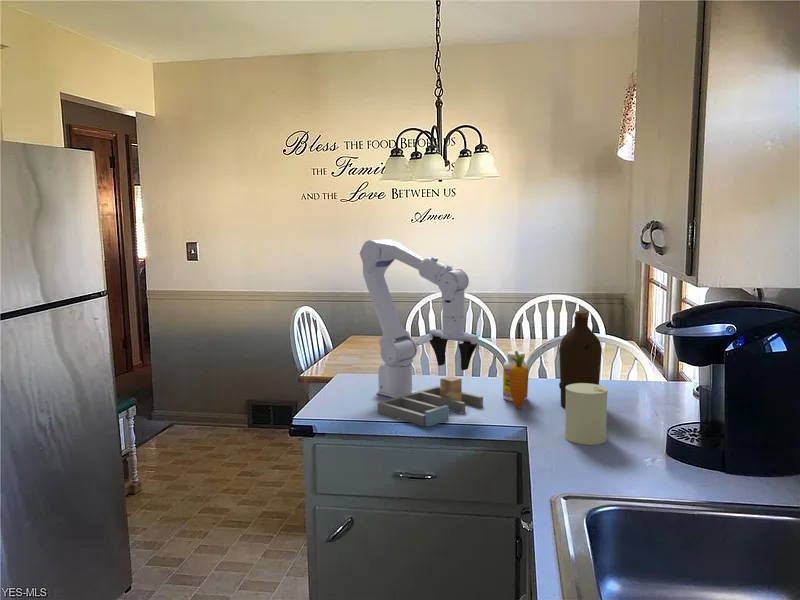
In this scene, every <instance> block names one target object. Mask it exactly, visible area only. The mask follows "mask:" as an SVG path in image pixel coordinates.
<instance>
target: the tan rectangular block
mask: <svg viewBox="0 0 800 600" xmlns="http://www.w3.org/2000/svg"><path fill="white" fill-rule="evenodd" d="M462 380H463V379H462V378H461V377H459V376H458V377H456V376H452V375H449V376H445V377H440V379H439V382H440V383H439V386H440V396H442V397H446V398H449V399H453V400H457V401H461V402H462V392H463V390H462V389H463V388H462Z"/></svg>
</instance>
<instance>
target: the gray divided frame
mask: <svg viewBox="0 0 800 600" xmlns="http://www.w3.org/2000/svg"><path fill="white" fill-rule="evenodd" d="M466 404H467V405H469V406H470V405H471V406H475V407H479V408H482V407H484V397H483V396H480V395H477V394H472V393H467V392H464V391H462V402H461V401H457V400H453V399H449V398H446V397H442V396H440V385H439V386H438V385H436V386H432V387H428V388H425V389H422V390H421V389H420V390H418V391H416V392H414V393H410V394H407V395H403V396H400V397H396V398H390V399H386V400H382V401H379V402H377V413H378V414H383V415H386V416H389V417H392V418H395V419H398V418H399V420H402V421H405V422H409V423H412V424H415V425H418V426H421V427H425V426H426V427H431V426H434V425H438V424H440V423H443V422H446V420H447V421H449V420H450V418H449V417H450V416H449V413H450V411H453V410H454V411H453V412H457V411H458V413H460V412H462V413H461V414H464V413H466ZM449 409H450V411H449ZM463 412H464V413H463ZM448 419H449V420H448Z"/></svg>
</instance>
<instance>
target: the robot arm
mask: <svg viewBox="0 0 800 600" xmlns="http://www.w3.org/2000/svg"><path fill="white" fill-rule="evenodd" d="M359 256H360V259H361V262H362V274H363V279H364V282H365V285H366V288H367V290H368V293H369V296H370V298H371V302H372V305H373V308H374V310H375V314H376V316H377V319H378V322H379V326H380V329H381V331H382V335H381V337H380V339H379V340H378V342H379V347H380V357H381V359H382V361H383V362H382V363H381V364H380V365H379V367H378V373H377V374H378V377H377V378H378V380H377V381H378V390H377V391H376V394H378V395H382V396H386V397H389V398H391V399H393V398H396V397H400V396H403V395H407V394H410V393H414V392H417V391H415V390H413V362H414V359H415V357H416V355H417V352H418V346H417V344H416V342H415V340H414V339H413V338H412V336H411V334H410V332H409V331H408V330H406V329H404V328H403V327H402V325H401V321H400V319H399V316H398V313H397V309H396V308H395V303H394V301H393V298H392V295H391V292H390V289H389V286H388V284H387V281H386V278H385V273H386V272H387V270H388V268H389V267H390V266H391V264H392V263H393V262H394V261H395V260H396V261H399V262H401V263H402V264H405V265H407V266H409V267H410V268H411V267H412V268H414V269H415V270H418V274H419V276H420V277H421V278H422V279H425V280H426V281H428V282H431V283H433V284H434V285H436V286H438V289H439V290H440V292H441V298H442V299H441V300H442V311H441V312H442V313H441V314H442V316H441V317H442V320H441V321H442V322H441V324H442V325H441V327H442V329H434V328H433V329H430V330H428V331H429V332H428V334H429V335H428V338H431V339H429V344H430V346H431V347H432V349H433V351H434V354H435V355H434V356H435V358H436V362H437V366H441V367H442V366H444V365H445V364H446V352H447V345H448V340H450V341H455V342H456V341H457V342H461V343H458V345H457V346H458V349H459V354H460V368H461V371H466V370H468V369H469V366H470V362H471V359H472V356H473V353H474V351H475V350H476V348H477V347H478V343H479V335H476V334H473V333H468V332H465V291H466V289H467V288H468V287H469V284H470V281H469V276H468V274H467V273H466V271H464V270H463V269H460V268H457V269H453V266H452V265H450V264H448V265H447V264H445V263H442V262H440V261H439V258H438V257H436V256H432V257H429V256H428V257H425V258H424V257H422V256H421V255H419V254H417V253H416V252H414V251H412V250H410V249H409V248H407V247H405V246H404V245H403V244H402V243H400V242H399V241H395V240H394V239H392V238H386V239H375V240H374V239H372V240H371V239H369V240H367V241H364V243H363V245H362V247H361V250H360V251H359Z"/></svg>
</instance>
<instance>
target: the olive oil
mask: <svg viewBox="0 0 800 600" xmlns="http://www.w3.org/2000/svg"><path fill="white" fill-rule="evenodd" d="M574 315H575V316H574V325H573V326H572V328H571V329H570V330H569V331H568V332H567V333H566V334H564V336H563V337H562V339H561V340H560V343H559V348H558V349H559V351H558V354H559V377H560V379H559V384H558V387H559V389H560V406H561V407H563V408H564V409H566V386H567V385H569V384H575V383H590V384H597V385H600V379H601V378H600V375H601V363H602V354H603V353H602V350H603V349H602V343H601V341H600V339H599V338H598V336H597V334H595V333H594V332H593V331H592V330H591V329H590V327H589V326H588V324H589V317H588V315H589V313H588V311H585V310H576V311H574Z"/></svg>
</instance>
